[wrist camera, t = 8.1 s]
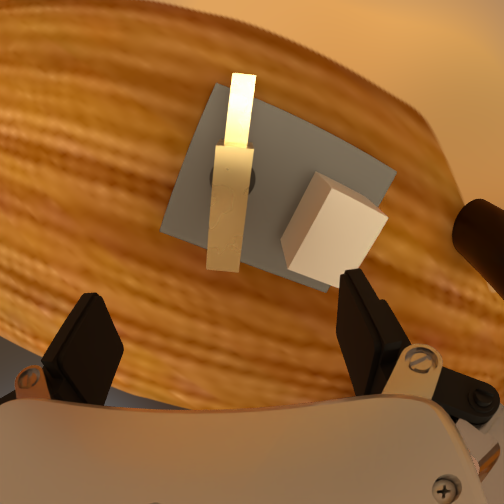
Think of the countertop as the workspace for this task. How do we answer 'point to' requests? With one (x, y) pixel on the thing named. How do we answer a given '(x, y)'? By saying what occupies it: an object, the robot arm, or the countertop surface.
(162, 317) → the countertop surface
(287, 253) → the cream rectangular block
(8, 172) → the countertop surface
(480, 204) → the water bottle
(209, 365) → the countertop surface
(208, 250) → the key
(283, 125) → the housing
